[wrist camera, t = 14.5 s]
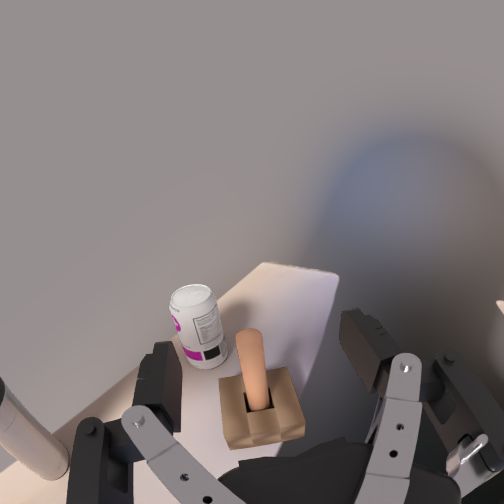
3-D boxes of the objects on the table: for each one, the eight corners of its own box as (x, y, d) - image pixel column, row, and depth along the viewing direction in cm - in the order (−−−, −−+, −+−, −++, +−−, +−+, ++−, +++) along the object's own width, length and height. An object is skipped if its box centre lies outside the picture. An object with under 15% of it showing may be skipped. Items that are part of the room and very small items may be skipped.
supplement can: (187, 373, 47) (164, 311, 41) (189, 345, 54) (170, 285, 48) (229, 369, 47) (214, 305, 41) (226, 340, 55) (214, 279, 49)
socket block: (230, 450, 32) (224, 436, 29) (224, 395, 42) (218, 378, 39) (304, 436, 33) (305, 421, 30) (287, 384, 42) (286, 366, 40)
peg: (253, 425, 35) (236, 347, 28) (250, 411, 38) (234, 330, 31) (272, 422, 36) (264, 343, 28) (269, 407, 38) (259, 326, 31)
